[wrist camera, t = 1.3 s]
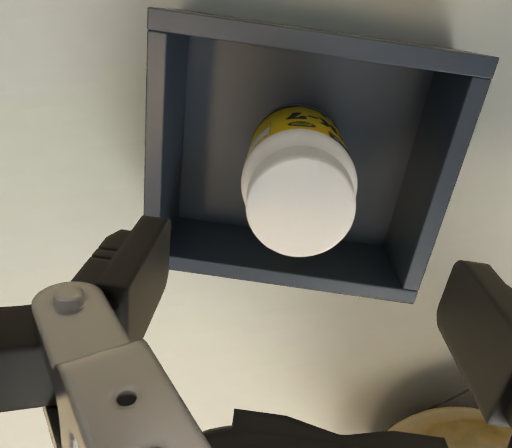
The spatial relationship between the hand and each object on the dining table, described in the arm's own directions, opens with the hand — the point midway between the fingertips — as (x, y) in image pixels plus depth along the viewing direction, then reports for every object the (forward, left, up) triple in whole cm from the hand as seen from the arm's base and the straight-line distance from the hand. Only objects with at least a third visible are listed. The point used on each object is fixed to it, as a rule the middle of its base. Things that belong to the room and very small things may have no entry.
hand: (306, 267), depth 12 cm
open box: (0, 0, -13) cm, 13 cm away
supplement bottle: (0, 0, -12) cm, 12 cm away
